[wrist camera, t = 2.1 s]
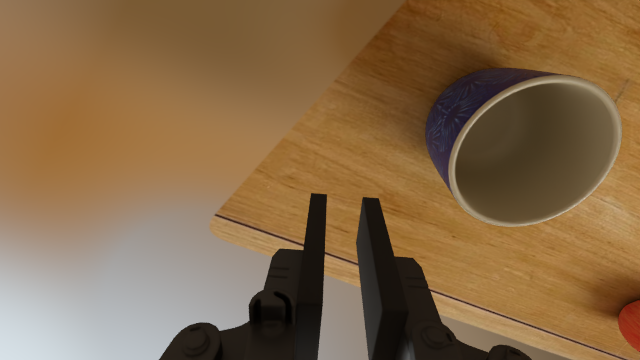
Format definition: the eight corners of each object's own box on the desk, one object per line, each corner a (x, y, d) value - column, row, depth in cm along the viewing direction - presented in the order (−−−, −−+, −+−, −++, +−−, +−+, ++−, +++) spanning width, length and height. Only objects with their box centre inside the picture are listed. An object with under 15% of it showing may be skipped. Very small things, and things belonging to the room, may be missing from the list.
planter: (546, 143, 34) (632, 190, 24) (437, 189, 37) (475, 247, 27) (518, 35, 29) (611, 38, 20) (397, 98, 32) (425, 128, 23)
